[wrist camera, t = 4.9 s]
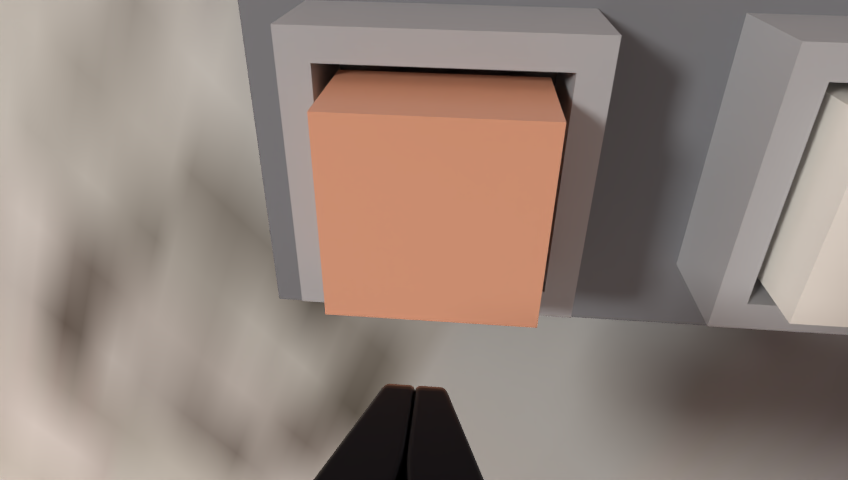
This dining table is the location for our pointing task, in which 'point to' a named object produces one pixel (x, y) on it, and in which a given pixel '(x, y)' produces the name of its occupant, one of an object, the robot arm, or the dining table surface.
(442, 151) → the key terracotta
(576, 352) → the dining table surface
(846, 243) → the key ivory
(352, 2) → the key panel
